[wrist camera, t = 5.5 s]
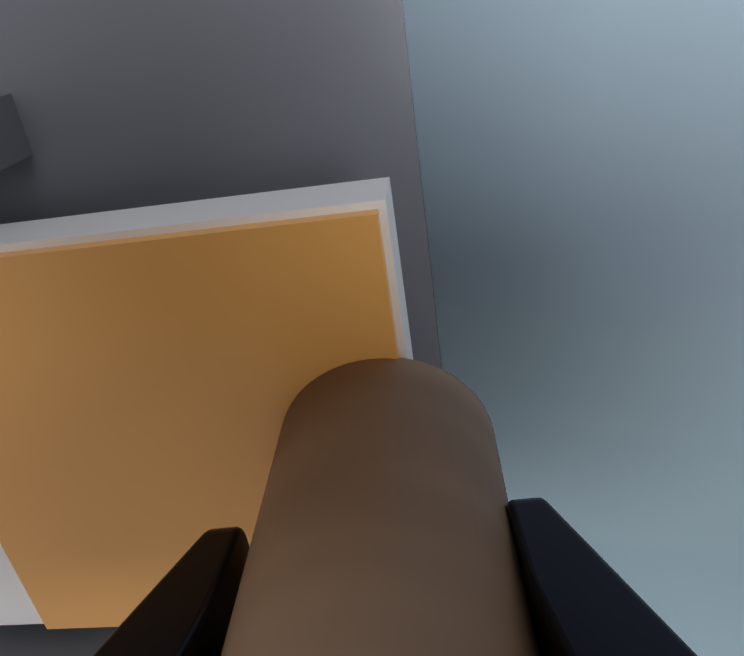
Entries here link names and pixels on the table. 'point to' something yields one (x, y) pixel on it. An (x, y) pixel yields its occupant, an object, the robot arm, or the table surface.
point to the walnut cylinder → (383, 525)
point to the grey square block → (205, 129)
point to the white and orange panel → (169, 376)
